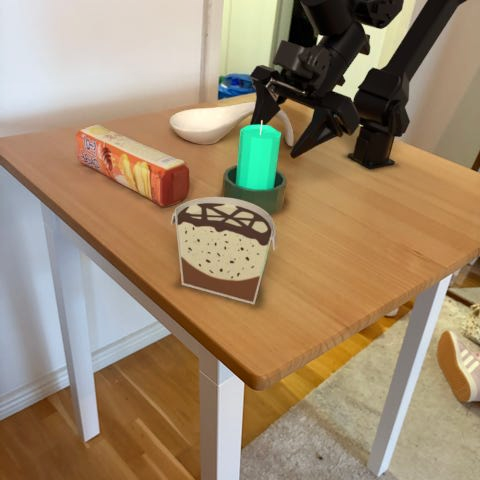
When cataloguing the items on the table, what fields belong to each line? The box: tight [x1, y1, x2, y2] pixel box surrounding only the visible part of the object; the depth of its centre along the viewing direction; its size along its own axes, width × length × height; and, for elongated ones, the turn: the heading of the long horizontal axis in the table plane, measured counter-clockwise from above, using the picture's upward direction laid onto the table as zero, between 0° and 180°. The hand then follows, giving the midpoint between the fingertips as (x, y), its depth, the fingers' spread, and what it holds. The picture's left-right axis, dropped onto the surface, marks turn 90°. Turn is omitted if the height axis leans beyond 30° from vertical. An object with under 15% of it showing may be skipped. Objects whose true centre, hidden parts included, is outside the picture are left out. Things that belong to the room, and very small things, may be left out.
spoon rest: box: [169, 100, 295, 147], centre depth 100 cm, size 24×12×7 cm, turn 95°
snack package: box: [75, 124, 191, 208], centre depth 83 cm, size 21×7×7 cm, turn 48°
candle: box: [236, 120, 282, 189], centre depth 79 cm, size 6×6×12 cm
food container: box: [170, 196, 278, 306], centre depth 63 cm, size 12×6×10 cm, turn 71°
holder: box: [221, 164, 288, 215], centre depth 82 cm, size 10×10×4 cm
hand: (269, 146), depth 79 cm, fingers open, 9 cm apart
